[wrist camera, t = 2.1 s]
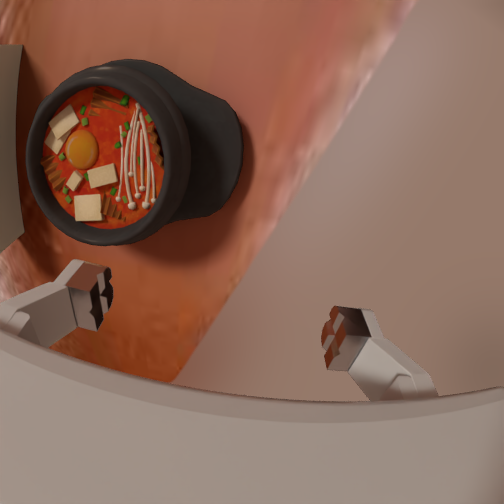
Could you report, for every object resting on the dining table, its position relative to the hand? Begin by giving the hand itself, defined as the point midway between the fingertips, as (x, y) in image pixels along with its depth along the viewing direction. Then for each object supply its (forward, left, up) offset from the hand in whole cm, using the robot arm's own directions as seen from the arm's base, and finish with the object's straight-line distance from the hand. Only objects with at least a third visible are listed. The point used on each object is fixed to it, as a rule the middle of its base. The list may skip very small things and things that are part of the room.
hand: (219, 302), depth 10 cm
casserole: (+13, 0, -22) cm, 25 cm away
